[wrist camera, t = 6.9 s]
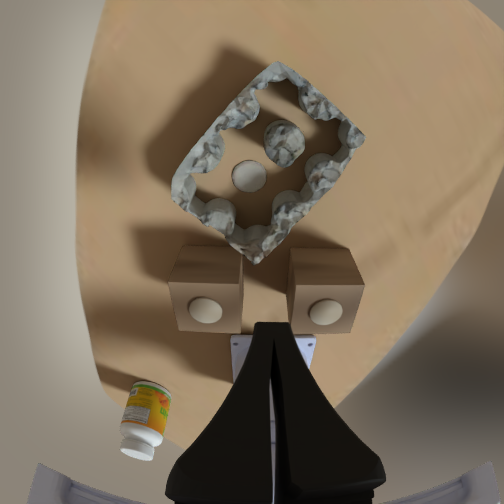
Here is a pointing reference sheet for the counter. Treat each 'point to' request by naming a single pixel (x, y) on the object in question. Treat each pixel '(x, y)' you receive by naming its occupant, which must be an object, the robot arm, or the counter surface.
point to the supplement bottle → (144, 419)
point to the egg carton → (254, 174)
